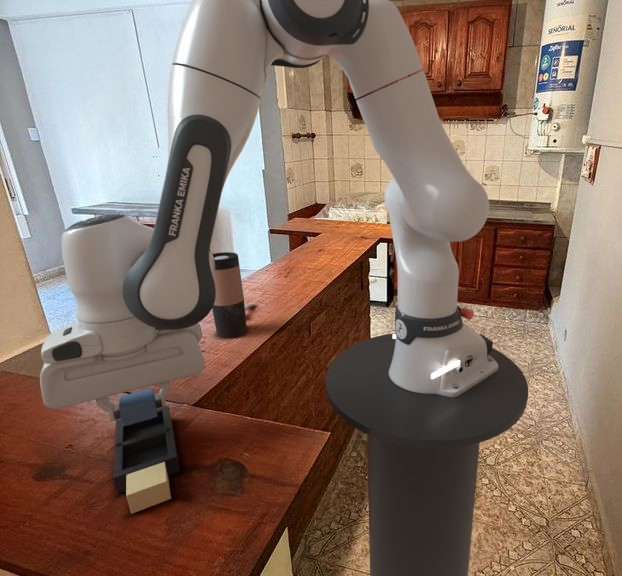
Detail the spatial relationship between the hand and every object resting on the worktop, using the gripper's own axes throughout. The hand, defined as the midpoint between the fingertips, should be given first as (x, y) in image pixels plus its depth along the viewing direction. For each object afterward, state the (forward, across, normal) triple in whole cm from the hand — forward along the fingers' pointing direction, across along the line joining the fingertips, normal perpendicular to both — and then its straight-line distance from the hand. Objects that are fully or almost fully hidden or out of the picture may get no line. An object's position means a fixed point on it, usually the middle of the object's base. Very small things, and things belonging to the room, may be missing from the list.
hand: (139, 411), depth 61 cm
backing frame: (+5, 0, +3) cm, 6 cm away
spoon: (+5, -26, -46) cm, 53 cm away
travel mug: (+5, -20, -35) cm, 41 cm away
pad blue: (+1, 0, 0) cm, 1 cm away
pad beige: (+5, 0, +13) cm, 14 cm away
